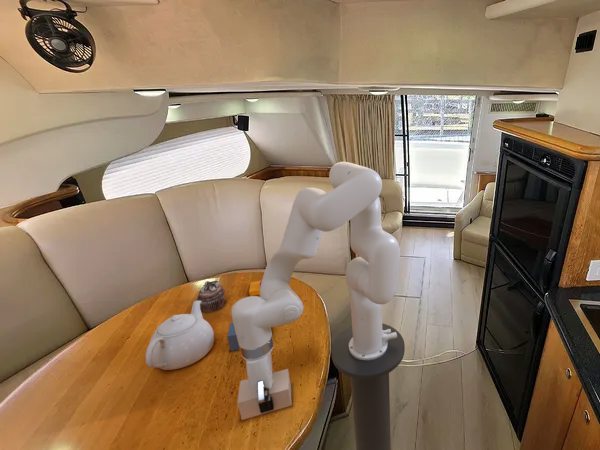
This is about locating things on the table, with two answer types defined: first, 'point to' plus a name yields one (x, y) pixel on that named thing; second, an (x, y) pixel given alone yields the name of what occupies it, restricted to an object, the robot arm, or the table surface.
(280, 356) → the table surface
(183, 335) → the teapot
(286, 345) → the table surface
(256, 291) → the orange square block
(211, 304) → the cupcake
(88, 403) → the table surface
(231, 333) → the back tissue box
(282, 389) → the front tissue box
